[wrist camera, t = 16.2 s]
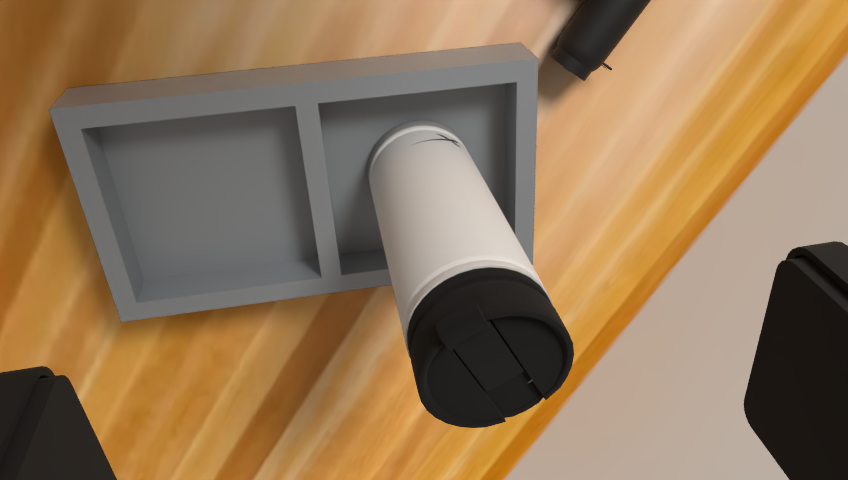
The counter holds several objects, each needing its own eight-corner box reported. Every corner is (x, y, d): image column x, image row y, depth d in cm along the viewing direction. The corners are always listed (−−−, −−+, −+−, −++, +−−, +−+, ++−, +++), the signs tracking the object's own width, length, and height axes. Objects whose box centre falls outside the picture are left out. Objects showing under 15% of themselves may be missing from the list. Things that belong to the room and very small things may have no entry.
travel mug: (434, 93, 41) (537, 278, 24) (484, 179, 44) (606, 395, 27) (344, 149, 42) (380, 365, 25) (400, 229, 45) (466, 469, 28)
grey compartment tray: (67, 88, 38) (48, 109, 35) (520, 42, 41) (538, 58, 38) (132, 290, 45) (121, 322, 42) (517, 238, 48) (532, 265, 45)
